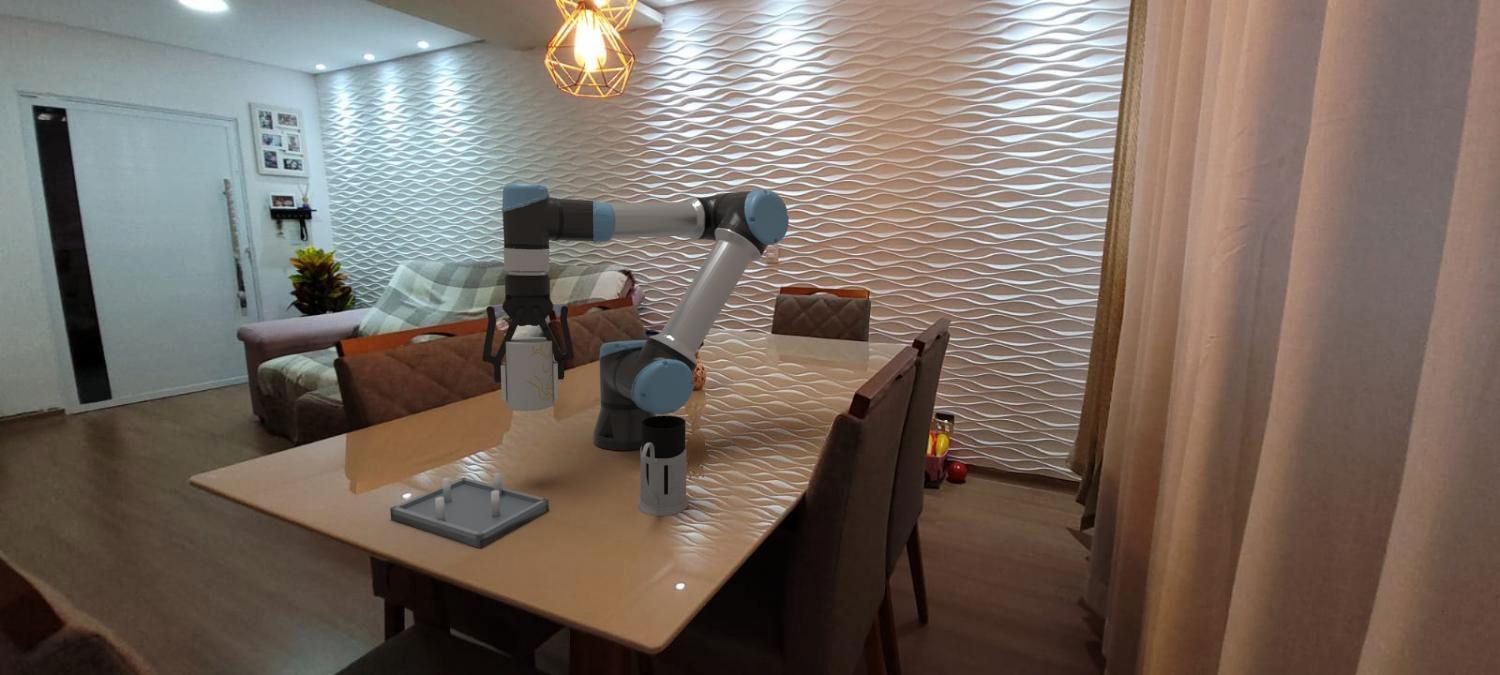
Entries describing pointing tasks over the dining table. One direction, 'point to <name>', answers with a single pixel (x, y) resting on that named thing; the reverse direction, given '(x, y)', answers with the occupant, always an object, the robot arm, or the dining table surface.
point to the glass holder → (663, 466)
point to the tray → (470, 510)
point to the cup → (529, 374)
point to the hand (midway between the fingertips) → (530, 397)
